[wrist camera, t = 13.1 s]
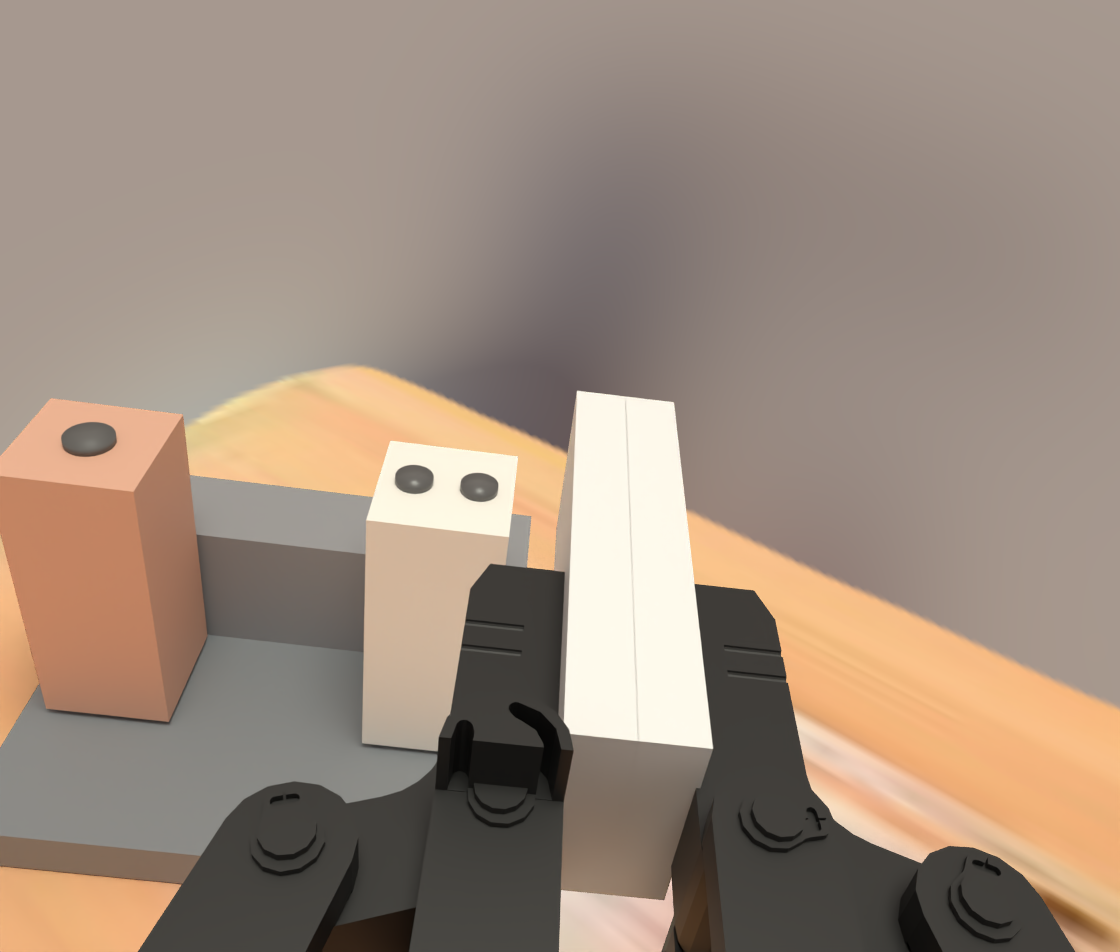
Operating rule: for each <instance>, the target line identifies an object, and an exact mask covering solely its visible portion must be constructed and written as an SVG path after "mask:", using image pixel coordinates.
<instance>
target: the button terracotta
mask: <svg viewBox="0 0 1120 952" xmlns="http://www.w3.org/2000/svg"><path fill="white" fill-rule="evenodd" d="M0 534H1V538H2V542H3V545H4V549H5V553H6V557H7V561H8V565H9V568H10V572H11V576H12V580H13V584H14V588H15V591H16V595H17V599H18V603H19V607H20V611H21V614H22V618H23V622H24V626H25V630H26V634H27V637H28V641H29V645H30V649H31V653H32V656H33V660H34V664H35V668H36V672H37V676H38V679H39V683H40V687H41V691H42V695H43V699H44V702H45V706H46V709H54V710H63V711H73V712H82V713H91V714H101V715H110V716H119V717H129V718H138V719H147V720H157V721H166V722H169V720H170V718H171V716H172V714H173V712H174V709H175V707H176V705H177V703H178V700H179V698H180V696H181V694H182V692H183V689H184V687H185V685H186V683H187V680H188V678H189V676H190V674H191V671H192V669H193V667H194V665H195V663H196V660H197V658H198V656H199V654H200V651H201V649H202V647H203V645H204V643H205V640H206V638H207V627H206V618H205V609H204V600H203V591H202V582H201V573H200V564H199V555H198V546H197V537H196V528H195V519H194V510H193V501H192V492H191V483H190V474H189V465H188V456H187V447H186V438H185V428H184V419H183V415H182V414H174V413H166V412H158V411H150V410H142V409H134V408H125V407H117V406H109V405H101V404H93V403H84V402H77V401H68V400H60V399H52V398H51V399H50V400H49V401H48V402H47V403H46V404H45V406H44V407H43V408H42V409H41V410H40V411H39V412H38V414H37V415H36V416H35V417H34V418H33V419H32V420H31V422H30V423H29V424H28V425H27V426H26V427H25V429H24V430H23V431H22V432H21V433H20V434H19V436H18V437H17V438H16V439H15V440H14V441H13V442H12V444H11V445H10V446H9V447H8V448H7V449H6V450H5V452H4V453H3V454H2V455H1V456H0Z"/></svg>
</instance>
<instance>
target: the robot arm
mask: <svg viewBox="0 0 1120 952" xmlns="http://www.w3.org/2000/svg"><path fill="white" fill-rule="evenodd" d="M671 877H672V890H673V906H674V917H673V920H672V922H671V925H670V928H669V931H668V934H667V937H666V940H665V943H664V946H663V949H662V952H1075V951H1074V949H1073V947H1072V946H1071V944H1070V943H1069V941H1068V939H1067V938H1066V936H1065V935H1064V933H1063V931H1062V930H1061V928H1060V927H1059V925H1058V923H1057V922H1056V920H1055V919H1054V917H1053V915H1052V914H1051V912H1050V911H1049V909H1048V907H1047V906H1046V904H1045V903H1044V901H1043V899H1042V898H1041V897H1040V895H1039V894H1038V893H1037V892H1036V891H1035V889H1034V888H1033V887H1032V886H1031V885H1030V883H1029V882H1028V881H1027V880H1026V879H1025V877H1024V876H1023V875H1022V874H1020V873H1019V872H1018V871H1016V870H1015V869H1014V868H1012V867H1011V866H1009V865H1008V864H1007V863H1005V862H1004V861H1003V860H1001V859H1000V858H998V857H996V856H993V855H991V854H988V853H985V852H983V851H980V850H978V849H975V848H970V847H954V846H948V847H946V848H943V849H940V850H938V851H935V852H932V853H930V854H929V855H928V856H927V858H926V859H925V860H924V862H923V863H922V864H921V863H919V862H916V861H914V860H911V859H909V858H906V857H904V856H901V855H899V854H896V853H894V852H891V851H889V850H886V849H884V848H881V847H879V846H876V845H874V844H871V843H869V842H867V841H865V840H863V839H861V838H859V837H857V836H855V835H853V834H852V833H850V832H849V831H848V830H846V829H845V828H844V827H842V826H841V825H840V824H838V823H837V822H836V821H835V820H834V819H833V818H832V815H831V813H830V811H829V808H828V807H827V806H826V805H825V804H824V803H823V802H822V801H821V799H820V798H819V797H818V796H817V795H816V794H815V793H814V792H813V791H812V790H811V787H810V784H809V781H808V778H807V775H806V770H805V765H804V760H803V755H802V750H801V745H800V740H799V736H798V731H797V726H796V721H795V716H794V711H793V706H792V701H791V696H790V691H789V686H788V683H786V672H785V667H784V662H783V657H781V647H780V642H779V637H778V632H777V627H776V622H775V619H774V618H773V616H772V615H771V614H770V612H769V611H768V609H767V608H766V607H765V605H764V604H763V602H762V601H761V600H760V598H759V597H758V595H757V594H756V593H755V591H753V590H744V589H735V588H726V587H717V586H708V585H699V584H694V576H693V567H692V559H691V550H690V541H689V532H688V523H687V514H686V506H685V497H684V488H683V480H682V470H681V461H680V453H679V444H678V435H677V427H676V417H675V409H674V402H666V401H657V400H649V399H640V398H632V397H623V396H616V395H607V394H599V393H590V392H582V391H577V396H576V401H575V408H574V415H573V422H572V429H571V435H570V442H569V449H568V455H567V462H566V469H565V475H564V482H563V489H562V496H561V502H560V509H559V516H558V523H557V531H556V547H555V564H554V571H552V570H543V569H534V568H525V567H516V566H507V565H498V564H490V565H489V566H488V567H487V568H486V570H485V571H484V572H483V573H482V575H481V576H480V577H479V578H478V580H477V581H476V582H475V583H474V585H473V586H472V587H471V588H470V594H469V600H468V606H467V612H466V618H465V625H464V631H463V637H462V643H461V650H460V656H459V662H458V668H457V675H456V681H455V687H454V693H453V700H452V706H451V712H450V715H449V716H448V717H447V718H446V721H445V723H444V725H443V728H442V730H441V732H440V735H439V739H438V754H437V762H436V764H435V765H434V767H433V768H432V769H431V770H430V771H429V772H428V773H427V774H426V775H425V776H424V777H423V778H421V779H420V780H419V781H418V782H416V783H414V784H412V785H411V786H409V787H407V788H405V789H403V790H402V791H398V792H395V793H392V794H388V795H385V796H382V797H377V798H371V799H366V800H361V801H356V802H351V803H345V801H344V800H343V799H342V797H341V796H339V795H338V794H336V793H334V792H332V791H330V790H329V789H327V788H325V787H323V786H321V785H318V784H311V783H303V782H296V781H293V782H288V783H283V784H277V785H272V786H267V787H266V788H264V789H262V790H260V791H258V792H256V793H254V794H253V795H251V796H249V797H247V798H245V799H243V801H242V802H241V803H240V804H239V805H238V806H237V807H236V808H235V809H234V810H233V811H232V812H231V813H230V814H229V815H228V816H227V817H226V818H225V820H224V821H223V823H222V825H221V826H220V828H219V829H218V831H217V832H216V834H215V835H214V837H213V838H212V840H211V841H210V843H209V844H208V846H207V847H206V849H205V850H204V852H203V853H202V855H201V856H200V858H199V860H198V861H197V863H196V864H195V866H194V867H193V869H192V870H191V872H190V873H189V875H188V876H187V878H186V879H185V881H184V882H183V884H182V885H181V887H180V888H179V890H178V891H177V893H176V895H175V896H174V898H173V899H172V901H171V902H170V904H169V905H168V907H167V908H166V910H165V911H164V913H163V914H162V916H161V917H160V919H159V920H158V922H157V923H156V925H155V926H154V928H153V930H152V931H151V933H150V934H149V936H148V937H147V939H146V940H145V942H144V943H143V945H142V946H141V948H140V949H139V951H138V952H559V928H560V898H561V890H566V891H576V892H587V893H597V894H607V895H617V896H627V897H637V898H648V899H658V900H664V899H665V896H666V893H667V889H668V886H669V883H670V880H671Z"/></svg>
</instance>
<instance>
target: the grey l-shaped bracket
mask: <svg viewBox="0 0 1120 952" xmlns="http://www.w3.org/2000/svg"><path fill="white" fill-rule="evenodd" d="M190 483H191V492H192V501H193V510H194V519H195V528H196V537H197V546H198V555H199V564H200V573H201V582H202V591H203V600H204V609H205V618H206V627H207V638H206V640H205V643H204V645H203V647H202V649H201V651H200V654H199V656H198V658H197V660H196V663H195V665H194V667H193V669H192V671H191V674H190V676H189V678H188V680H187V683H186V685H185V687H184V689H183V692H182V694H181V696H180V698H179V700H178V703H177V705H176V707H175V709H174V712H173V714H172V716H171V718H170V720H169V722H166V721H157V720H147V719H138V718H129V717H119V716H110V715H101V714H91V713H82V712H73V711H63V710H54V709H46V706H45V702H44V699H43V695H42V691H41V687H40V683H39V685H38V687H37V688H36V690H35V692H34V693H33V695H32V696H31V698H30V700H29V701H28V703H27V705H26V706H25V708H24V710H23V711H22V713H21V715H20V716H19V718H18V719H17V721H16V723H15V724H14V726H13V728H12V729H11V731H10V733H9V734H8V736H7V737H6V739H5V741H4V742H3V744H2V746H1V747H0V866H7V867H17V868H27V869H37V870H47V871H58V872H68V873H78V874H88V875H98V876H108V877H118V878H129V879H139V880H149V881H159V882H169V883H179V884H183V882H184V881H185V879H186V878H187V876H188V875H189V873H190V872H191V870H192V869H193V867H194V866H195V864H196V863H197V861H198V860H199V858H200V856H201V855H202V853H203V852H204V850H205V849H206V847H207V846H208V844H209V843H210V841H211V840H212V838H213V837H214V835H215V834H216V832H217V831H218V829H219V828H220V826H221V825H222V823H223V821H224V820H225V818H226V817H227V816H228V815H229V814H230V813H231V812H232V811H233V810H234V809H235V808H236V807H237V806H238V805H239V804H240V803H241V802H242V801H243V799H245V798H247V797H249V796H251V795H253V794H254V793H256V792H258V791H260V790H262V789H264V788H266V787H267V786H272V785H277V784H283V783H288V782H293V781H296V782H303V783H311V784H318V785H321V786H323V787H325V788H327V789H329V790H330V791H332V792H334V793H336V794H338V795H339V796H341V797H342V799H343V800H344V801H345V803H351V802H356V801H361V800H366V799H371V798H377V797H382V796H385V795H388V794H392V793H395V792H398V791H402V790H403V789H405V788H407V787H409V786H411V785H412V784H414V783H416V782H418V781H419V780H420V779H421V778H423V777H424V776H425V775H426V774H427V773H428V772H429V771H430V770H431V769H432V768H433V767H434V765H435V764H436V762H437V754H438V751H430V750H420V749H411V748H402V747H392V746H383V745H374V744H364V743H362V714H363V661H364V608H365V556H366V519H367V516H368V513H369V509H370V506H371V503H372V499H373V497H366V496H358V495H350V494H341V493H333V492H325V491H316V490H308V489H300V488H291V487H283V486H275V485H266V484H258V483H250V482H242V481H233V480H225V479H217V478H208V477H200V476H192V475H190ZM530 524H531V516H524V515H516V514H512V515H511V524H510V533H509V541H508V549H507V557H506V565H507V566H516V567H525V568H527V560H528V548H529V536H530Z"/></svg>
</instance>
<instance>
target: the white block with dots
mask: <svg viewBox="0 0 1120 952" xmlns="http://www.w3.org/2000/svg"><path fill="white" fill-rule="evenodd" d="M517 461H518V456H510V455H502V454H494V453H485V452H477V451H469V450H461V449H453V448H445V447H437V446H429V445H421V444H413V443H404V442H396V441H390V444H389V447H388V450H387V454H386V457H385V460H384V463H383V467H382V470H381V473H380V477H379V480H378V483H377V486H376V490H375V493H374V496H373V499H372V503H371V506H370V509H369V513H368V516H367V519H366V556H365V608H364V661H363V714H362V743H364V744H374V745H383V746H392V747H402V748H411V749H420V750H430V751H438V739H439V735H440V732H441V730H442V728H443V725H444V723H445V721H446V718H447V717H448V716H449V715H450V712H451V706H452V700H453V693H454V687H455V681H456V675H457V668H458V662H459V656H460V650H461V643H462V637H463V631H464V625H465V618H466V612H467V606H468V600H469V594H470V588H471V587H472V586H473V585H474V583H475V582H476V581H477V580H478V578H479V577H480V576H481V575H482V573H483V572H484V571H485V570H486V568H487V567H488V566H489V565H490V564H498V565H506V557H507V549H508V541H509V533H510V524H511V515H512V506H513V497H514V488H515V479H516V470H517Z"/></svg>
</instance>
